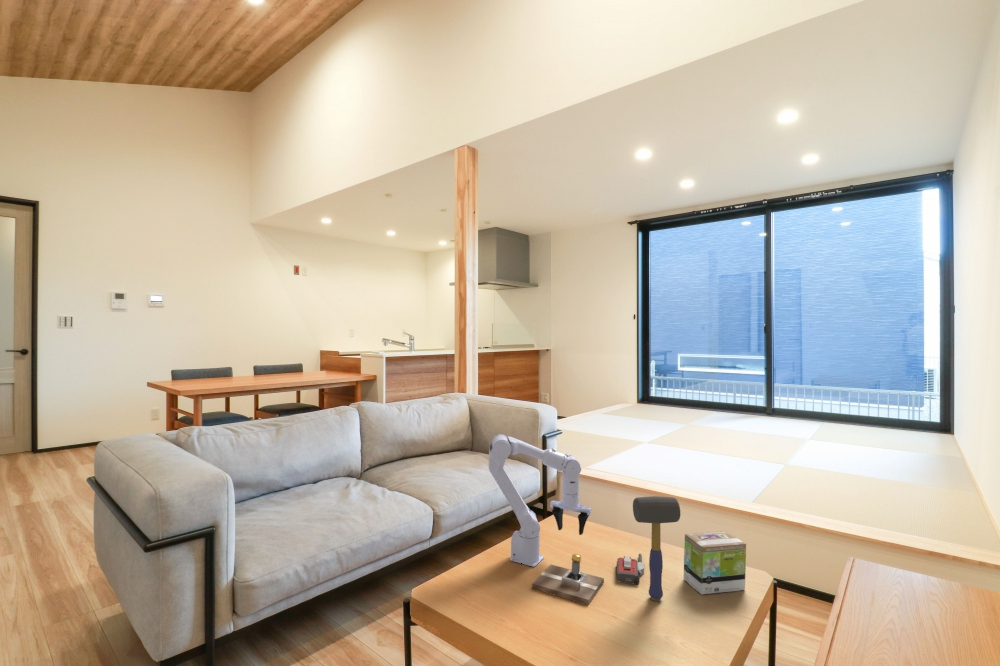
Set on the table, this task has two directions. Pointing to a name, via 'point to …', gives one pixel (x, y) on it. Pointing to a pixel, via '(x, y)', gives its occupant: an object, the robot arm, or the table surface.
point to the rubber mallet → (656, 533)
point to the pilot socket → (574, 583)
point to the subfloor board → (553, 584)
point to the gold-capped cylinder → (575, 566)
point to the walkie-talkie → (629, 569)
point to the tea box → (714, 562)
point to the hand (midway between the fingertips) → (570, 531)
